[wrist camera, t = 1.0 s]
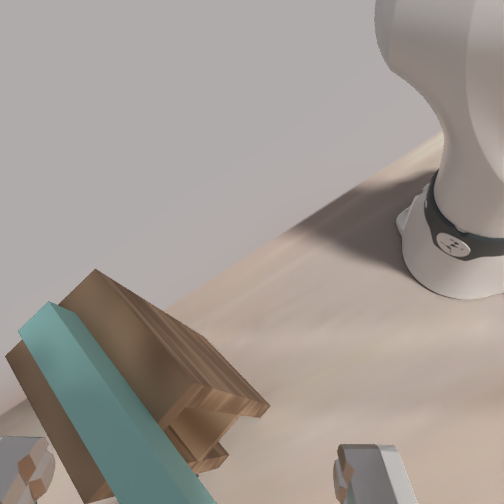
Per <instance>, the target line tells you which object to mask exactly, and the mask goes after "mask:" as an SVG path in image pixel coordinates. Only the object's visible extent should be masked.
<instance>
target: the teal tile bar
mask: <svg viewBox="0 0 504 504" xmlns="http://www.w3.org/2000/svg"><path fill="white" fill-rule="evenodd" d="M18 332H19V334H20V336H21V338H22V339H23V341H24V343H25V344H26V346H27V348H28V349H29V351H30V353H31V354H32V356H33V358H34V360H35V361H36V363H37V365H38V366H39V368H40V370H41V371H42V373H43V375H44V376H45V378H46V380H47V381H48V383H49V385H50V387H51V388H52V390H53V392H54V393H55V395H56V397H57V398H58V400H59V402H60V403H61V405H62V407H63V409H64V410H65V412H66V414H67V415H68V417H69V419H70V420H71V422H72V424H73V425H74V427H75V429H76V431H77V432H78V434H79V436H80V437H81V439H82V441H83V442H84V444H85V446H86V447H87V449H88V451H89V453H90V454H91V456H92V458H93V459H94V461H95V463H96V464H97V466H98V468H99V469H100V471H101V473H102V475H103V476H104V478H105V480H106V481H107V483H108V485H109V486H110V488H111V490H112V491H113V493H114V495H115V497H116V498H117V500H118V502H119V503H120V504H217V503H216V502H215V501H214V499H213V498H212V497H211V495H210V494H209V492H208V491H207V490H206V488H205V487H204V486H203V484H202V483H201V482H200V480H199V479H198V478H197V476H196V475H195V474H194V472H193V471H192V470H191V468H190V467H189V465H188V464H187V463H186V461H185V460H184V459H183V457H182V456H181V455H180V453H179V452H178V451H177V449H176V448H175V447H174V445H173V444H172V442H171V441H170V440H169V438H168V437H167V436H166V434H165V433H164V432H163V430H162V429H161V428H160V426H159V425H158V424H157V422H156V421H155V419H154V418H153V417H152V415H151V414H150V413H149V411H148V410H147V409H146V407H145V406H144V405H143V403H142V402H141V401H140V399H139V398H138V397H137V395H136V394H135V392H134V391H133V390H132V388H131V387H130V386H129V384H128V383H127V382H126V380H125V379H124V378H123V376H122V375H121V374H120V372H119V371H118V369H117V368H116V367H115V365H114V364H113V363H112V361H111V360H110V359H109V357H108V356H107V355H106V353H105V352H104V351H103V349H102V348H101V346H100V345H99V344H98V342H97V341H96V340H95V338H94V337H93V336H92V334H91V333H90V332H89V330H88V329H87V328H86V326H85V325H84V323H83V322H82V321H81V319H80V318H79V317H78V315H77V314H76V313H75V312H73V311H70V310H68V309H66V308H63V307H61V306H59V305H56V304H54V303H51V302H48V303H46V305H44V307H42V308H41V309H40V310H39V311H38V312H37V313H36V314H35V315H34V316H33V317H32V318H31V319H30V320H29V321H28V322H27V323H26V324H25V325H24V326H23V327H22V328H21V329H19V330H18Z"/></svg>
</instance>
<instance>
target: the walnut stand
mask: <svg viewBox="0 0 504 504" xmlns="http://www.w3.org/2000/svg"><path fill="white" fill-rule="evenodd" d="M59 306H61V307H63V308H66V309H68V310H70V311H73V312H75V313H76V314H77V315H78V317H79V318H80V319H81V321H82V322H83V323H84V325H85V326H86V328H87V329H88V330H89V332H90V333H91V334H92V336H93V337H94V338H95V340H96V341H97V342H98V344H99V345H100V346H101V348H102V349H103V351H104V352H105V353H106V355H107V356H108V357H109V359H110V360H111V361H112V363H113V364H114V365H115V367H116V368H117V369H118V371H119V372H120V374H121V375H122V376H123V378H124V379H125V380H126V382H127V383H128V384H129V386H130V387H131V388H132V390H133V391H134V392H135V394H136V395H137V397H138V398H139V399H140V401H141V402H142V403H143V405H144V406H145V407H146V409H147V410H148V411H149V413H150V414H151V415H152V417H153V418H154V419H155V421H156V422H157V424H158V425H159V426H160V428H161V429H162V430H163V432H164V433H165V434H166V436H167V437H168V438H169V440H170V441H171V442H172V444H173V445H174V447H175V448H176V449H177V451H178V452H179V453H180V455H181V456H182V457H183V459H184V460H185V461H186V463H187V464H188V465H189V467H190V468H191V470H192V471H193V472H194V474H198V473H201V472H205V471H209V470H212V469H216V468H219V467H220V465H221V464H222V463H223V462H224V461H225V459H226V458H227V457H228V456H229V454H228V453H227V452H226V451H225V449H224V448H223V447H222V446H221V444H220V443H219V442H218V441H219V440H220V439H221V437H222V436H223V435H224V434H225V433H226V432H227V430H228V429H229V428H230V427H231V426H232V425H233V423H234V422H235V421H236V420H237V419H238V417H239V416H240V415H244V416H251V417H258V418H261V416H262V415H263V414H264V413H265V412H266V410H267V409H268V408H269V407H270V405H269V404H268V403H267V402H266V401H265V400H264V399H263V398H262V397H261V396H260V394H259V393H258V392H257V391H256V390H255V389H254V388H253V387H252V386H251V385H250V384H249V383H248V382H247V381H246V380H245V379H244V378H243V377H242V376H241V375H240V374H239V373H238V372H237V371H236V370H235V369H234V368H233V367H232V366H231V364H230V363H229V362H228V361H227V360H226V359H225V358H224V357H223V356H222V355H221V354H220V353H219V352H218V351H217V350H216V349H215V348H214V347H213V346H212V345H211V344H210V343H209V342H208V341H207V340H206V339H205V338H204V337H203V336H202V335H200V334H198V333H197V332H195V331H194V330H192V329H190V328H189V327H187V326H186V325H184V324H182V323H181V322H179V321H178V320H176V319H175V318H173V317H171V316H170V315H168V314H167V313H165V312H163V311H162V310H160V309H159V308H157V307H155V306H154V305H152V304H151V303H149V302H147V301H146V300H144V299H142V298H141V297H139V296H138V295H136V294H135V293H133V292H131V291H130V290H128V289H126V288H125V287H123V286H122V285H120V284H119V283H117V282H115V281H114V280H112V279H111V278H109V277H108V276H106V275H104V274H103V273H101V272H100V271H98V270H96V269H95V270H94V271H93V272H91V274H89V276H87V277H86V278H85V279H84V280H83V281H82V282H81V283H80V284H79V285H78V286H77V287H76V288H75V289H74V290H73V291H72V292H71V293H70V294H69V295H68V296H67V297H66V298H65V299H64V300H63V301H62V302H61V303H60V304H59ZM5 357H6V359H7V361H8V363H9V364H10V366H11V368H12V370H13V372H14V374H15V376H16V378H17V379H18V381H19V383H20V385H21V387H22V389H23V391H24V392H25V394H26V396H27V398H28V400H29V402H30V404H31V406H32V407H33V409H34V411H35V413H36V415H37V417H38V419H39V420H40V422H41V424H42V426H43V428H44V430H45V432H46V433H47V435H48V437H49V439H50V441H51V443H52V445H53V447H54V448H55V450H56V452H57V454H58V456H59V458H60V460H61V461H62V463H63V465H64V467H65V469H66V471H67V473H68V474H69V476H70V478H71V480H72V482H73V484H74V486H75V488H76V489H77V491H78V493H79V495H80V497H81V499H82V501H83V502H84V504H88V503H91V502H95V501H99V500H102V499H106V498H110V497H113V496H115V495H114V493H113V491H112V490H111V488H110V486H109V485H108V483H107V481H106V480H105V478H104V476H103V475H102V473H101V471H100V469H99V468H98V466H97V464H96V463H95V461H94V459H93V458H92V456H91V454H90V453H89V451H88V449H87V447H86V446H85V444H84V442H83V441H82V439H81V437H80V436H79V434H78V432H77V431H76V429H75V427H74V425H73V424H72V422H71V420H70V419H69V417H68V415H67V414H66V412H65V410H64V409H63V407H62V405H61V403H60V402H59V400H58V398H57V397H56V395H55V393H54V392H53V390H52V388H51V387H50V385H49V383H48V381H47V380H46V378H45V376H44V375H43V373H42V371H41V370H40V368H39V366H38V365H37V363H36V361H35V360H34V358H33V356H32V354H31V353H30V351H29V349H28V348H27V346H26V344H25V343H24V341H23V339H22V340H21V342H19V343H18V344H17V345H16V346H15V347H14V348H13V349H12V350H11V351H10V352H9V353H8V354H7V355H6V356H5Z"/></svg>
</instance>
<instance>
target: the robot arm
mask: <svg viewBox="0 0 504 504" xmlns="http://www.w3.org/2000/svg"><path fill="white" fill-rule="evenodd" d="M374 21H375V33H376V38H377V43H378V46H379V49H380V52H381V55H382V56H383V59H384V60H385V62H386V64H387V65H388V67H389V69H390V70H391V71H392V72H394V73H395V74H397V75H398V76H400V77H401V78H402V79H404V80H405V81H407V82H408V83H409V84H410V85H411V86H413V87H414V88H415V89H416V90H417V91H418V92H419V93H420V94H421V95H422V96H423V97H424V99H425V100H426V101H427V102H428V104H429V105H430V106H431V108H432V110H433V111H434V112H435V114H436V116H437V118H438V120H439V121H440V124H441V127H442V129H443V133H444V148H443V154H442V159H441V163H440V167H439V169H438V170H437V172H436V173H435V175H434V176H433V178H432V181H430V183H428V184H426V185H425V187H424V188H423V190H422V191H423V192H422V193H421V194H420V195H416V196H415V198H414V199H413V202H412V204H411V205H410V206H409V207H408V208H406V209H405V210H404V211H402V212H401V213H400V214H399V215H398V216H397V219H396V226H397V228H398V230H399V232H400V234H401V236H402V253H403V257H404V261H405V263H406V265H407V267H408V269H409V271H410V272H411V273H412V275H413V276H414V277H415V278H416V279H417V280H418V281H419V282H420V283H421V284H423V285H424V286H425V287H427V288H428V289H430V290H432V291H434V292H436V293H438V294H441V295H443V296H447V297H451V298H456V299H478V298H484V297H487V296H491V295H494V294H500V293H503V294H504V0H376V3H375V18H374ZM48 445H49V444H48V442H47V440H46V438H45V437H14V436H0V504H37V500H38V499H39V498H40V497H41V496H42V495H43V494H44V493H46V492H47V490H48V488H49V485H50V483H51V481H52V478H53V474H54V470H55V459H54V456H53V454H52V453H50V452H49V451H47V450H46V449H47V447H48ZM337 452H338V457H339V458H338V459H337V460H335V463H334V469H333V479H334V488H335V494H336V498H337V500H338V501H339V502H340V503H341V504H418V502H417V499H416V497H415V494H414V491H413V489H412V486H411V483H410V480H409V478H408V475H407V472H406V470H405V467H404V464H403V462H402V459H401V456H400V454H399V451H398V449H397V448H396V447H395V446H394V445H375V444H340V445H339V447H338V451H337Z"/></svg>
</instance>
